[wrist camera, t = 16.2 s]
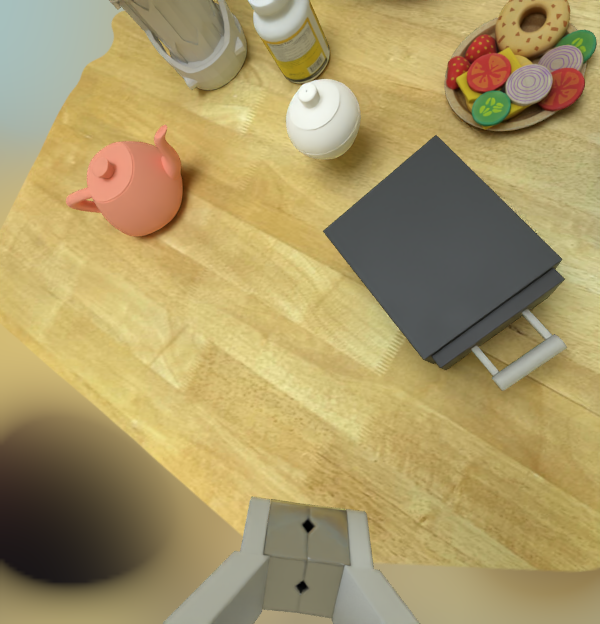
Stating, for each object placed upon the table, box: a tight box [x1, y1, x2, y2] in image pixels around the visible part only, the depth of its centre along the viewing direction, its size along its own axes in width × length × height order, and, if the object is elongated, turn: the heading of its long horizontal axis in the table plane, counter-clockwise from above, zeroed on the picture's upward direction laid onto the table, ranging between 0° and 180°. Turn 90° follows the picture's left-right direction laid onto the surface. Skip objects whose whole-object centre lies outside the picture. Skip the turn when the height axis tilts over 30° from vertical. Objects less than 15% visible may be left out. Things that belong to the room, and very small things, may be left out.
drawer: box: [431, 268, 567, 391], centre depth 39 cm, size 18×11×8 cm, turn 36°
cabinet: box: [323, 135, 562, 364], centre depth 40 cm, size 15×13×10 cm
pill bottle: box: [248, 0, 330, 83], centre depth 49 cm, size 6×6×12 cm
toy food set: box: [445, 0, 597, 131], centre depth 43 cm, size 13×13×3 cm
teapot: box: [66, 125, 183, 236], centre depth 56 cm, size 12×18×10 cm
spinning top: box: [286, 79, 361, 159], centre depth 45 cm, size 8×8×12 cm
